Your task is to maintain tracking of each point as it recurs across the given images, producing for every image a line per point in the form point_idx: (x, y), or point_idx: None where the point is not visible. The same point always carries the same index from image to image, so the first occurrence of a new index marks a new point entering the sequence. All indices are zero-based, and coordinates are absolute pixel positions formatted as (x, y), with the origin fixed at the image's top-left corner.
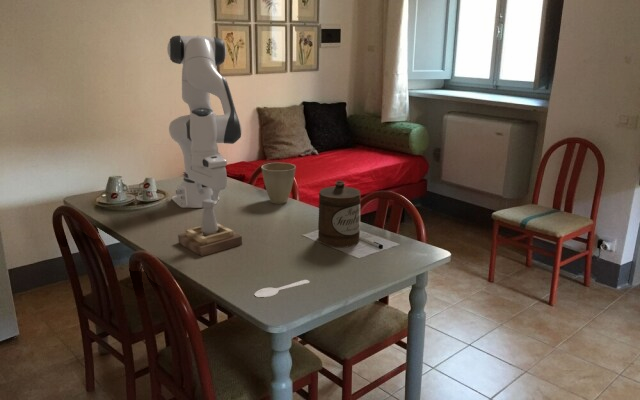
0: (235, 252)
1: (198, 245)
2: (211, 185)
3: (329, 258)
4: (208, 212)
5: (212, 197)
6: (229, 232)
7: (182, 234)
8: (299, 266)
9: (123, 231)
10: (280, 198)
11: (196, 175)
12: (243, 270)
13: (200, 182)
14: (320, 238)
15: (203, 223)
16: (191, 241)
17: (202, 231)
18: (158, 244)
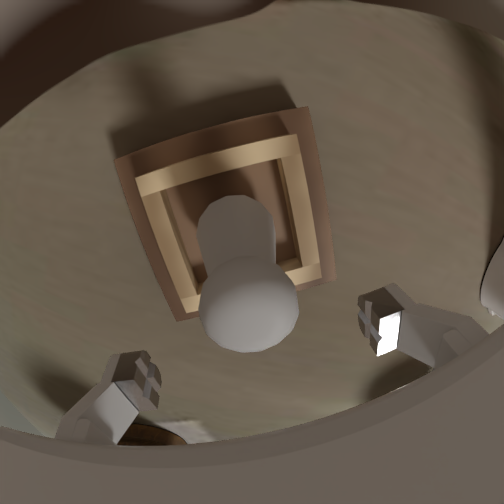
0: (121, 268)
1: (141, 154)
2: (28, 460)
3: (67, 401)
4: (213, 269)
5: (115, 370)
6: (180, 296)
7: (302, 123)
8: (33, 354)
9: (448, 31)
10: None
11: (476, 462)
12: (16, 251)
13: (312, 443)
14: (139, 431)
15: (225, 214)
16: (199, 135)
17: (225, 196)
18: (314, 47)
